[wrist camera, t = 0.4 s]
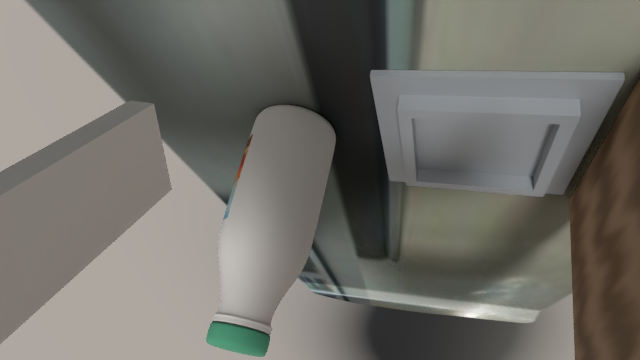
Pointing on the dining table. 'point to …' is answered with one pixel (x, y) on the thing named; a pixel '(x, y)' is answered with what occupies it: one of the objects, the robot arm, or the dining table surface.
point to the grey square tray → (490, 127)
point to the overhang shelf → (609, 244)
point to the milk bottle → (270, 223)
